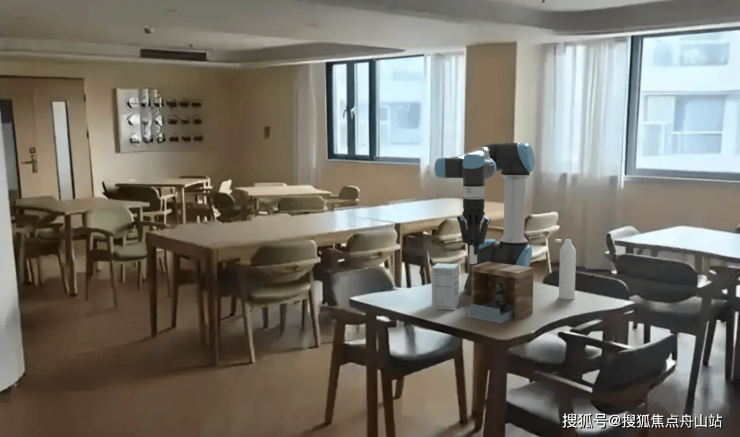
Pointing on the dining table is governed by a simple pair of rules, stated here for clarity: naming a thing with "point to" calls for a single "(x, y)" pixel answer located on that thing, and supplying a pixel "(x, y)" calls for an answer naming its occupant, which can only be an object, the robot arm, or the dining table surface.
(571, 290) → the water bottle
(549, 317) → the dining table surface
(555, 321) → the dining table surface
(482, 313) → the tray
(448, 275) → the supplement box
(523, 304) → the wooden crate
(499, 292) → the dark grey figurine
